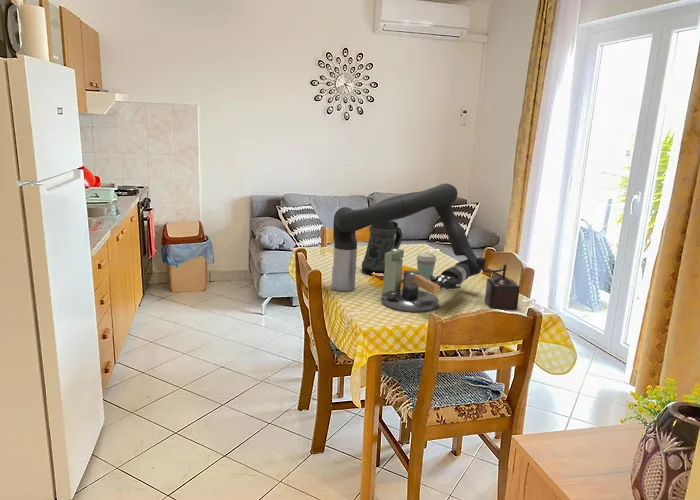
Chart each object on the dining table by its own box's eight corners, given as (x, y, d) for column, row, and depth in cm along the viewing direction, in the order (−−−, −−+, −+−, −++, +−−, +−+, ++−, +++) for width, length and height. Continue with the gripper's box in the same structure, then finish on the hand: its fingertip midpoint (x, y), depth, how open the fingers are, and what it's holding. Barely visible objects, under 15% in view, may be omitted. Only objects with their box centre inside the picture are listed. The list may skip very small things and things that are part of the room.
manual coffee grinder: (509, 300, 215) (514, 257, 211) (517, 310, 204) (523, 264, 200) (470, 299, 215) (475, 255, 210) (477, 308, 204) (482, 262, 200)
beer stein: (355, 273, 243) (358, 219, 237) (371, 264, 260) (374, 213, 254) (389, 279, 236) (393, 223, 230) (403, 269, 253) (407, 217, 248)
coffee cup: (433, 285, 231) (436, 258, 228) (414, 282, 232) (416, 256, 230) (434, 279, 239) (437, 253, 236) (415, 277, 241) (417, 251, 238)
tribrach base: (370, 303, 203) (373, 253, 198) (397, 290, 221) (400, 243, 216) (423, 317, 192) (428, 263, 187) (447, 301, 210) (451, 252, 205)
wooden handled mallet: (399, 295, 207) (401, 270, 205) (412, 294, 210) (414, 269, 207) (427, 313, 189) (429, 286, 186) (441, 312, 191) (444, 285, 189)
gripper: (438, 264, 208) (419, 273, 194) (470, 270, 202) (453, 280, 187) (436, 282, 210) (417, 293, 196) (468, 289, 203) (451, 301, 189)
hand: (435, 287), depth 192 cm, fingers closed
